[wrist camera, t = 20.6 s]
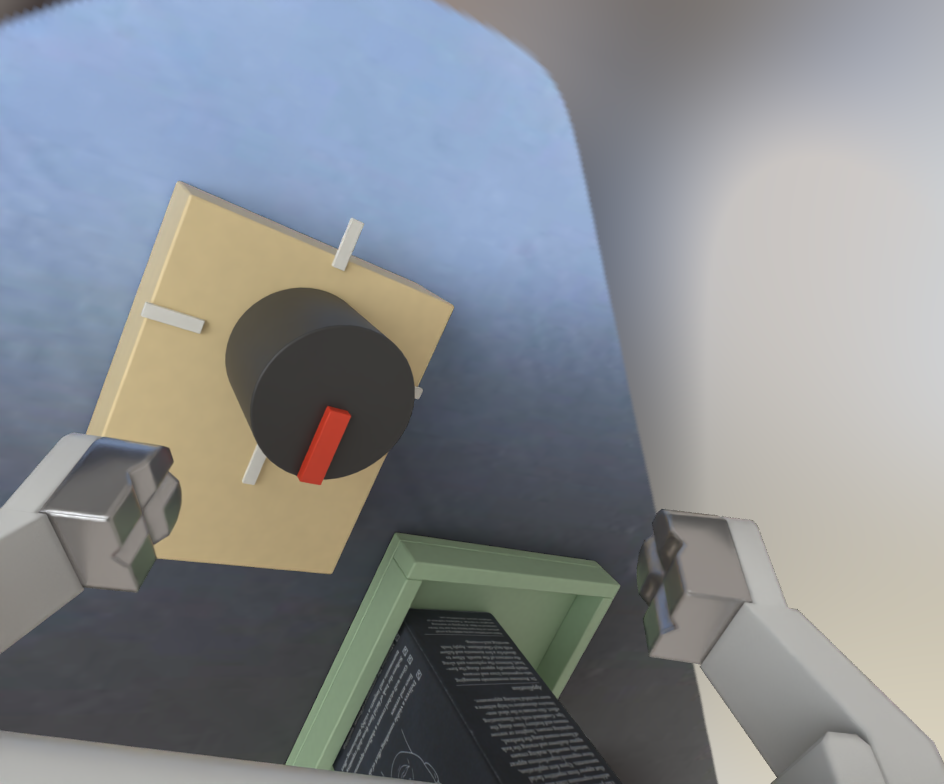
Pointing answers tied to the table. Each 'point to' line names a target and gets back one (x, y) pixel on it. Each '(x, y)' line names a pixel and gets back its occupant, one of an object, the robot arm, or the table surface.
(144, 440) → the panel
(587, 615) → the tray
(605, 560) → the table surface
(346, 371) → the dial
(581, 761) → the box
